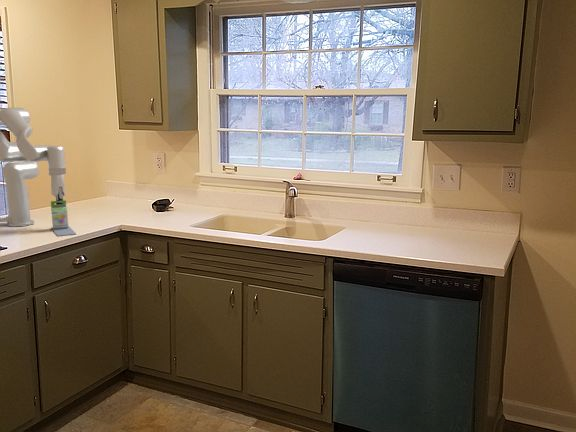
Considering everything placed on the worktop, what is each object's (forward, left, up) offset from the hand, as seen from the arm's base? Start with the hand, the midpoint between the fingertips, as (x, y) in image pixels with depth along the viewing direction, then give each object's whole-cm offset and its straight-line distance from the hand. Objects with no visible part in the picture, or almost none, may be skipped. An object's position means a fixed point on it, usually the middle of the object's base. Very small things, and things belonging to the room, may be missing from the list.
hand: (60, 209), depth 260 cm
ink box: (-1, 0, -9) cm, 9 cm away
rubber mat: (0, -6, -9) cm, 11 cm away
